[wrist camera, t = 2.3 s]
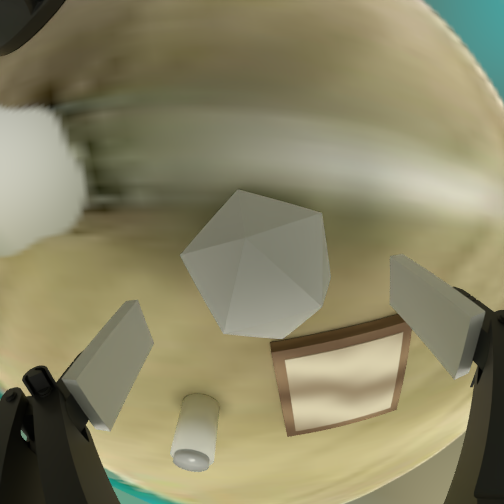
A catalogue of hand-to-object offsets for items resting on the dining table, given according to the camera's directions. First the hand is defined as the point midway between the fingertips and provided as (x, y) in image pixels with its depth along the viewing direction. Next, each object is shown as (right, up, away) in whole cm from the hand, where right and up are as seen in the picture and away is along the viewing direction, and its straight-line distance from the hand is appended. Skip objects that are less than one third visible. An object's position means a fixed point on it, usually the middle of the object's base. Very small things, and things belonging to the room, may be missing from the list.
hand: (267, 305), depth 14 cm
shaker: (-6, -14, +13) cm, 20 cm away
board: (+8, -10, +12) cm, 18 cm away
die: (0, +3, +8) cm, 8 cm away
